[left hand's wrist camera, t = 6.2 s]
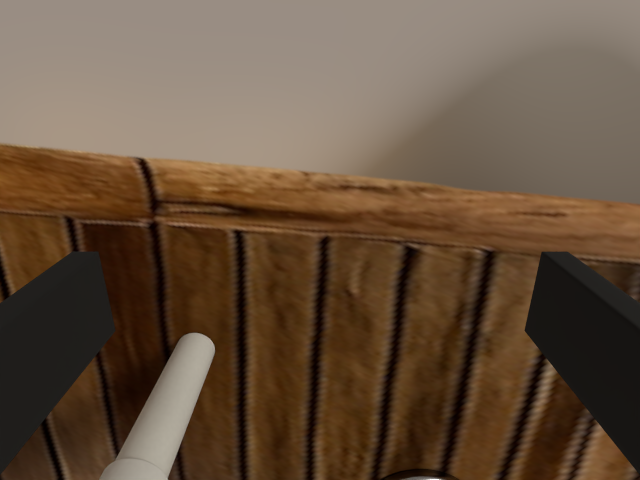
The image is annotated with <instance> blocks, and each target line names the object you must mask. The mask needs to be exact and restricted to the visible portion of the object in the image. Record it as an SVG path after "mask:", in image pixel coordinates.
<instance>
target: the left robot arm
mask: <svg viewBox="0 0 640 480" xmlns="http://www.w3.org/2000/svg"><path fill="white" fill-rule="evenodd" d="M114 332H115V327H114V322H113V317H112V313H111V308H110V304H109V299H108V294H107V290H106V285H105V281H104V276H103V271H102V267H101V262H100V258H99V253H98V252H71V253H70V254H69V255H67V256H66V257H64V258H63V259H62V260H60V261H59V262H57V263H56V264H55V265H53V266H52V267H50V268H49V269H48V270H46V271H45V272H43V273H42V274H41V275H39V276H38V277H36V278H35V279H34V280H32V281H31V282H29V283H28V284H27V285H25V286H24V287H22V288H21V289H20V290H18V291H17V292H15V293H14V294H13V295H11V296H10V297H8V298H7V299H6V300H4V301H3V302H1V303H0V474H1V473H2V472H3V471H4V469H5V468H6V467H7V466H8V464H9V463H10V462H11V461H12V459H13V458H14V457H15V456H16V454H17V453H18V452H19V451H20V449H21V448H22V447H23V446H24V444H25V443H26V442H27V441H28V439H29V438H30V437H31V436H32V434H33V433H34V432H35V431H36V429H37V428H38V427H39V426H40V424H41V423H42V422H43V421H44V419H45V418H46V417H47V416H48V414H49V413H50V412H51V411H52V409H53V408H54V407H55V406H56V404H57V403H58V402H59V401H60V399H61V398H62V397H63V396H64V394H65V393H66V392H67V391H68V389H69V388H70V387H71V386H72V384H73V383H74V382H75V381H76V379H77V378H78V377H79V376H80V374H81V373H82V372H83V371H84V369H85V368H86V367H87V366H88V364H89V363H90V362H91V361H92V359H93V358H94V357H95V356H96V354H97V353H98V352H99V351H100V349H101V348H102V347H103V346H104V344H105V343H106V342H107V341H108V339H109V338H110V337H111V336H112V334H113V333H114ZM525 332H526V333H527V334H528V336H529V337H530V338H531V339H532V341H533V342H534V343H535V344H536V346H537V347H538V348H539V349H540V351H541V352H542V353H543V354H544V356H545V357H546V358H547V359H548V361H549V362H550V363H551V364H552V366H553V367H554V368H555V369H556V371H557V372H558V373H559V374H560V376H561V377H562V378H563V379H564V381H565V382H566V383H567V384H568V386H569V387H570V388H571V389H572V391H573V392H574V393H575V394H576V396H577V397H578V398H579V399H580V401H581V402H582V403H583V404H584V406H585V407H586V408H587V409H588V411H589V412H590V413H591V414H592V416H593V417H594V418H595V419H596V421H597V422H598V423H599V424H600V426H601V427H602V428H603V429H604V431H605V432H606V433H607V434H608V436H609V437H610V438H611V439H612V441H613V442H614V443H615V444H616V446H617V447H618V448H619V449H620V451H621V452H622V453H623V454H624V456H625V457H626V458H627V459H628V461H629V462H630V463H631V464H632V466H633V467H634V468H635V469H636V471H637V472H638V473H639V474H640V303H639V302H637V301H636V300H634V299H633V298H632V297H630V296H629V295H627V294H626V293H625V292H623V291H622V290H620V289H619V288H618V287H616V286H615V285H613V284H612V283H611V282H609V281H608V280H606V279H605V278H604V277H602V276H601V275H599V274H598V273H597V272H595V271H594V270H592V269H591V268H590V267H588V266H587V265H585V264H584V263H583V262H581V261H580V260H578V259H577V258H576V257H574V256H573V255H571V254H570V253H569V252H542V253H541V258H540V262H539V267H538V271H537V276H536V281H535V285H534V290H533V294H532V299H531V304H530V308H529V313H528V317H527V322H526V327H525ZM384 480H459V479H457V478H455V477H454V476H452V475H449V474H447V473H444V472H440V471H435V470H423V469H422V470H410V471H404V472H400V473H397V474H394V475H392V476H389V477H387V478H385V479H384Z"/></svg>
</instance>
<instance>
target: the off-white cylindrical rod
mask: <svg viewBox="0 0 640 480" xmlns="http://www.w3.org/2000/svg"><path fill="white" fill-rule="evenodd" d="M214 354H215V347H214V344H213V342H212V341H211V340H210V339H209V338H208V337H207V336H205V335H203V334H199V333H189V334H186V335H184V336H183V337H182V338H181V339H180V340H179V341H178V343H177V345H176V347H175V349H174V351H173V353H172V355H171V357H170V358H169V360H168V362H167V364H166V366H165V368H164V370H163V372H162V373H161V375H160V377H159V379H158V381H157V383H156V385H155V387H154V389H153V390H152V392H151V394H150V396H149V398H148V400H147V402H146V404H145V406H144V407H143V409H142V411H141V413H140V415H139V417H138V419H137V421H136V422H135V424H134V426H133V428H132V430H131V432H130V434H129V436H128V438H127V439H126V441H125V443H124V445H123V447H122V449H121V451H120V453H119V454H118V456H117V458H116V460H115V461H117V460H120V459H125V458H135V459H141V460H145V461H148V462H150V463H152V464H154V465H156V466H157V467H159V468H160V469H161V470H162V471H163V472H164V473H165V475H166V476H167V478H168V475H169V473H170V470H171V468H172V465H173V462H174V460H175V457H176V454H177V452H178V449H179V446H180V444H181V441H182V438H183V436H184V433H185V431H186V428H187V425H188V423H189V420H190V417H191V415H192V412H193V409H194V407H195V404H196V401H197V399H198V396H199V394H200V391H201V388H202V386H203V383H204V380H205V378H206V375H207V372H208V370H209V367H210V364H211V362H212V359H213V356H214Z"/></svg>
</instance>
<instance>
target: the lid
mask: <svg viewBox="0 0 640 480" xmlns="http://www.w3.org/2000/svg"><path fill="white" fill-rule="evenodd" d="M99 480H168V478H167V476H166V475H165V473H164V472H163V471H162V470H161V469H160V468H159V467H157V466H156V465H154V464H152V463H150V462H148V461H145V460H141V459H135V458H125V459H120V460H117V461H114V462H112V463H111V464H109V465H108V466H107V467H106V468H105V470H104V471H103V473H102V475H101V477H100V479H99Z"/></svg>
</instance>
